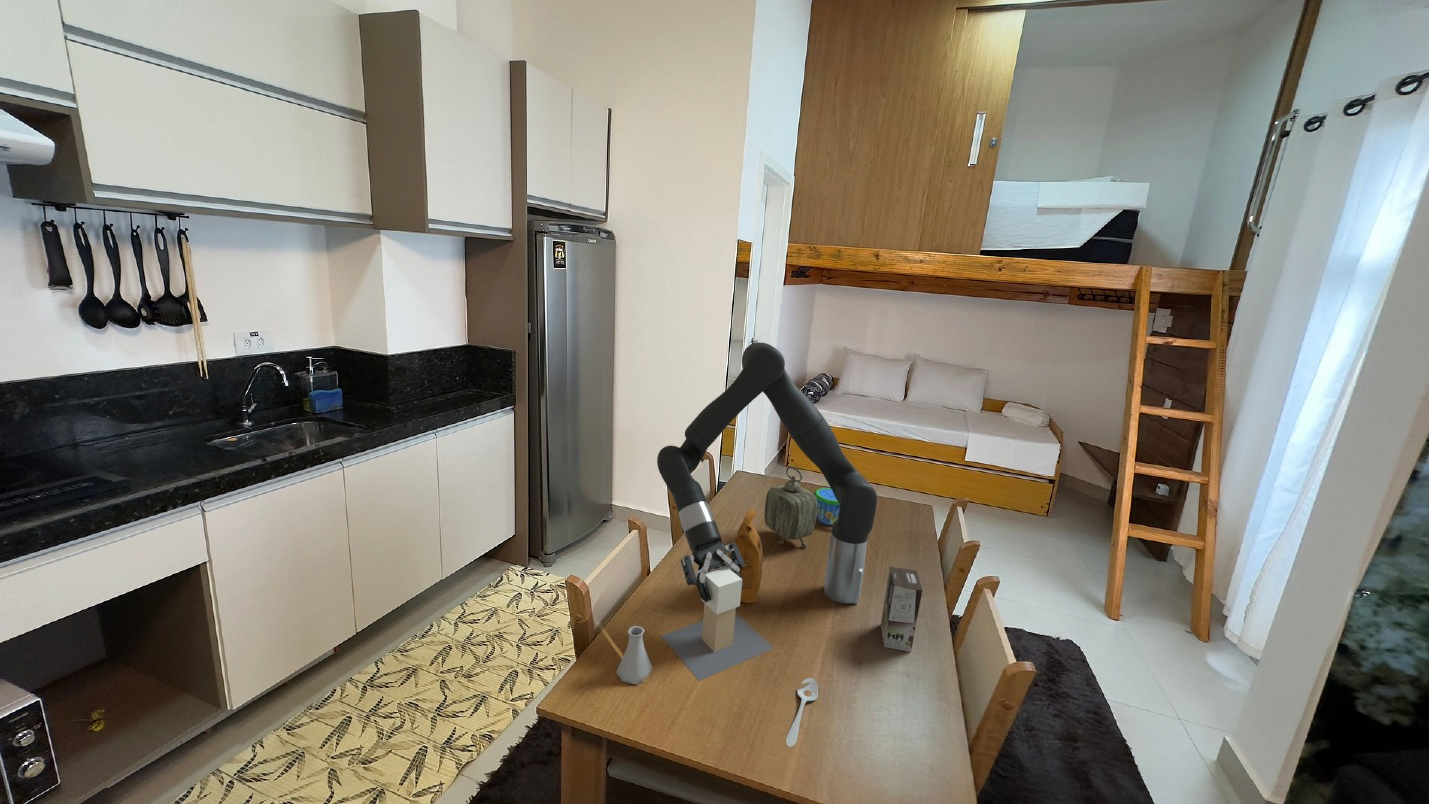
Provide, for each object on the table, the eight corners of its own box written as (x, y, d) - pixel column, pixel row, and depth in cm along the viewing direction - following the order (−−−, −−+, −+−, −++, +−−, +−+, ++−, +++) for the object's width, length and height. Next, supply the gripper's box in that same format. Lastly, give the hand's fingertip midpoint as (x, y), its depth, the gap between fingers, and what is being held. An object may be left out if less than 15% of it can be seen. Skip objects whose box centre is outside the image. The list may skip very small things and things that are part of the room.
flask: (636, 690, 110) (638, 647, 108) (609, 674, 114) (610, 632, 112) (659, 669, 116) (661, 628, 114) (632, 655, 120) (633, 615, 118)
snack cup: (855, 528, 186) (859, 501, 184) (830, 534, 181) (834, 505, 179) (825, 509, 199) (829, 483, 197) (802, 514, 194) (805, 487, 192)
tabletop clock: (812, 549, 170) (821, 473, 164) (790, 556, 165) (798, 478, 159) (781, 529, 182) (789, 457, 176) (759, 535, 177) (767, 462, 171)
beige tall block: (719, 632, 129) (724, 570, 125) (732, 644, 125) (738, 581, 121) (701, 639, 126) (706, 576, 122) (714, 652, 122) (719, 587, 118)
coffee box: (912, 653, 127) (923, 590, 123) (883, 647, 128) (893, 585, 124) (907, 628, 136) (917, 569, 132) (880, 623, 137) (889, 565, 133)
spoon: (821, 687, 115) (821, 680, 115) (795, 765, 97) (796, 758, 96) (801, 680, 117) (802, 673, 116) (773, 756, 98) (773, 749, 98)
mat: (731, 611, 137) (732, 609, 137) (773, 650, 125) (773, 648, 124) (661, 638, 126) (661, 635, 126) (699, 683, 113) (699, 680, 113)
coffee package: (764, 583, 151) (771, 508, 145) (756, 609, 139) (764, 529, 134) (728, 576, 153) (734, 502, 147) (718, 601, 141) (724, 522, 136)
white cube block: (723, 591, 127) (725, 565, 125) (739, 606, 122) (742, 579, 120) (701, 599, 123) (702, 572, 122) (716, 614, 119) (718, 587, 117)
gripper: (679, 526, 121) (704, 600, 114) (732, 513, 129) (758, 582, 122) (666, 538, 126) (689, 609, 120) (717, 525, 134) (742, 591, 128)
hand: (724, 595), depth 121 cm, fingers open, 8 cm apart
